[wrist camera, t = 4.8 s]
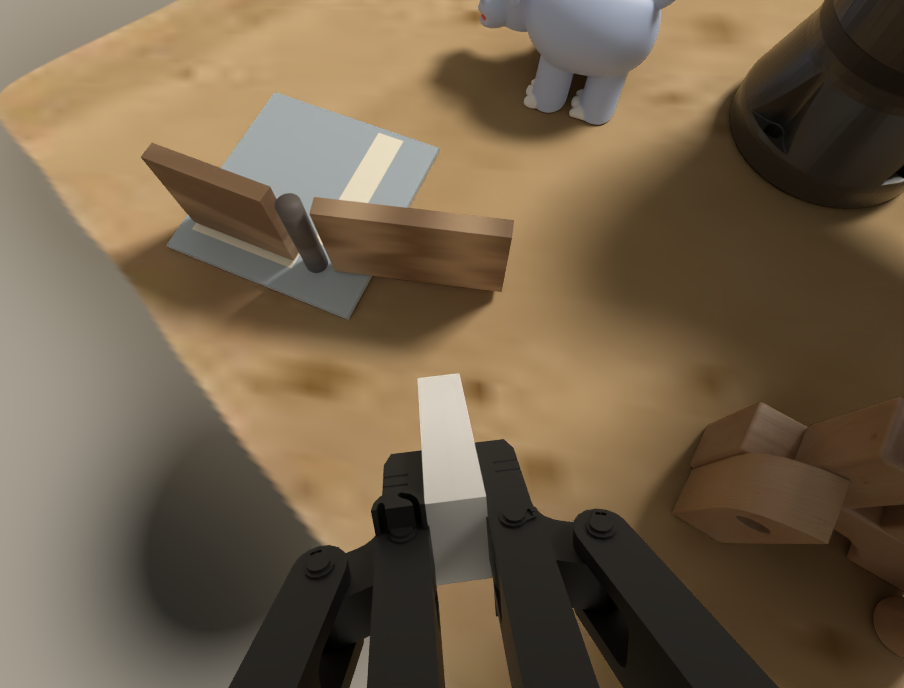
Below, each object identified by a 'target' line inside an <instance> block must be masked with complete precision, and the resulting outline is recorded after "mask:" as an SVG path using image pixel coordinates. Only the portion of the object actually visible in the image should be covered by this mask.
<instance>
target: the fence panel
mask: <svg viewBox="0 0 904 688" xmlns="http://www.w3.org/2000/svg"><path fill="white" fill-rule="evenodd" d="M309 214H310V217H311V219H312V221H313V223H314V226H315V228H316V230H317V232H318V235H319V237H320V239H321V241H322V244H323V246H324V248H325V250H326V253H327V255H328V257H329V259H330V262H331V264H332V266H333V268H334V271H338V272H346V273H354V274H362V275H370V276H378V277H386V278H394V279H402V280H410V281H418V282H426V283H434V284H442V285H450V286H458V287H466V288H474V289H482V290H490V291H498V292H502V287H503V281H504V276H505V271H506V266H507V261H508V255H509V250H510V245H511V240H512V232H513V224H514V220H507V219H499V218H490V217H481V216H473V215H464V214H456V213H447V212H439V211H430V210H422V209H413V208H405V207H396V206H388V205H379V204H371V203H362V202H354V201H345V200H337V199H328V198H320V197H314V198H313V202H312V205H311V209H310V213H309Z"/></svg>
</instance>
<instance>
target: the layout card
mask: <svg viewBox="0 0 904 688" xmlns="http://www.w3.org/2000/svg"><path fill="white" fill-rule="evenodd" d="M438 153H439V148H438V147H435V146H432V145H429V144H426V143H423V142H420V141H417V140H414V139H411V138H408V137H405V136H402V135H399V134H396V133H393V132H391V131H388V130H385V129H382V128H379V127H376V126H373V125H370V124H367V123H364V122H361V121H358V120H355V119H352V118H349V117H346V116H344V115H341V114H338V113H335V112H332V111H329V110H326V109H323V108H320V107H317V106H314V105H311V104H308V103H305V102H302V101H299V100H296V99H294V98H291V97H288V96H285V95H282V94H279V93H276V92H275V93H274V94H273V95H272V97H271V98H270V100H269V101H268V102H267V104H266V105H265V107H264V108H263V109H262V111H261V112H260V114H259V115H258V116H257V118H256V119H255V121H254V122H253V124H252V125H251V126H250V128H249V129H248V131H247V132H246V133H245V135H244V136H243V138H242V139H241V140H240V142H239V143H238V145H237V146H236V147H235V149H234V150H233V152H232V153H231V154H230V156H229V157H228V159H227V160H226V162H225V163H224V164H223V166H222V167H221V168H222V169H224V170H227V171H230V172H232V173H235V174H238V175H241V176H243V177H246V178H249V179H251V180H254V181H257V182H259V183H262V184H265V185H268V186H270V187H271V189H272V191H273V193H274V195H275V197H276V199H277V198H278V197H280V196H281V195H283V194H286V193H293V194H296V195H297V196H299V198H300V199H301V202H302V204H303V206H304V208H305V210H306V213H307V215H308V217H309V219H310V221H311V224H312V226H313V228H314V230H315V233H316V235H317V237H318V239H319V241H320V244H321V246H322V248H323V250H324V253H325V255H326V257H327V259H328V266H327V268H326V269H325V270H324V271H322V272H320V273H313V272H310V271H309V270H308V269H307V267H306V265H305V263H304V262H303V260H302V258H301V256H300V254H299V253H298V255H297V256H296V258H295V260H294V261H293V260H290V259H288V258H285V257H283V256H280V255H278V254H275V253H273V252H270V251H267V250H265V249H262V248H260V247H257V246H255V245H252V244H249V243H247V242H244V241H242V240H239V239H237V238H234V237H232V236H229V235H226V234H224V233H221V232H219V231H216V230H214V229H211V228H208V227H206V226H203V225H201V224H198V223H196V222H193V220H192V219H191V218H190V217H189V215H187V216H186V218H185V219H184V221H183V222H182V223H181V225H180V226H179V228H178V229H177V230H176V232H175V233H174V235H173V236H172V238H171V239H170V240H169V242H168V243H167V245H166V246H167V247H168V248H170V249H173V250H175V251H178V252H180V253H183V254H185V255H188V256H190V257H193V258H195V259H198V260H200V261H203V262H205V263H208V264H210V265H213V266H215V267H218V268H220V269H222V270H225V271H227V272H230V273H232V274H235V275H237V276H240V277H242V278H245V279H247V280H250V281H252V282H255V283H257V284H260V285H262V286H265V287H267V288H270V289H272V290H275V291H277V292H280V293H282V294H285V295H287V296H290V297H292V298H295V299H297V300H300V301H302V302H305V303H307V304H310V305H312V306H315V307H317V308H320V309H322V310H325V311H327V312H329V313H332V314H334V315H337V316H339V317H342V318H344V319H347V320H349V318H350V316H351V315H352V313H353V311H354V309H355V307H356V305H357V303H358V302H359V300H360V298H361V296H362V294H363V292H364V290H365V289H366V287H367V285H368V283H369V281H370V279H371V277H372V276H370V275H362V274H354V273H346V272H338V271H334V268H333V266H332V264H331V262H330V259H329V257H328V255H327V253H326V250H325V248H324V246H323V244H322V241H321V239H320V237H319V235H318V232H317V230H316V228H315V226H314V223H313V221H312V219H311V217H310V214H309V213H310V209H311V205H312V202H313V198H314V197H320V198H328V199H337V200H345V201H354V202H362V203H371V204H379V205H388V206H396V207H405V208H409V207H410V205H411V203H412V201H413V199H414V197H415V196H416V194H417V192H418V190H419V188H420V186H421V184H422V183H423V181H424V179H425V177H426V175H427V173H428V171H429V170H430V168H431V166H432V164H433V162H434V160H435V158H436V157H437V155H438Z"/></svg>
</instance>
